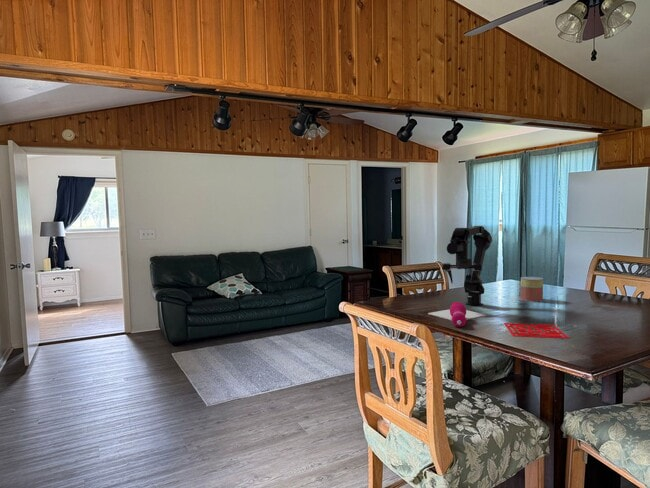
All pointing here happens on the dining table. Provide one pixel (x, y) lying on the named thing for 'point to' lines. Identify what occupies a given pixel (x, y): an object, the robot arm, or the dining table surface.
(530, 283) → the canned food
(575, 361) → the dining table surface
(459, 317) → the pepper mill
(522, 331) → the maze puzzle
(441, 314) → the grey mat
